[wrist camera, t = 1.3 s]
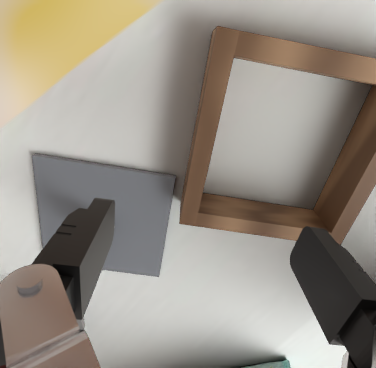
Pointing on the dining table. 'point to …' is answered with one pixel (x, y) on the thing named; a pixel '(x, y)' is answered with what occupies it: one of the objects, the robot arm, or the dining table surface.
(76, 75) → the dining table surface
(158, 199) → the slate plate
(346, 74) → the walnut collar
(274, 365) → the lunch bag
